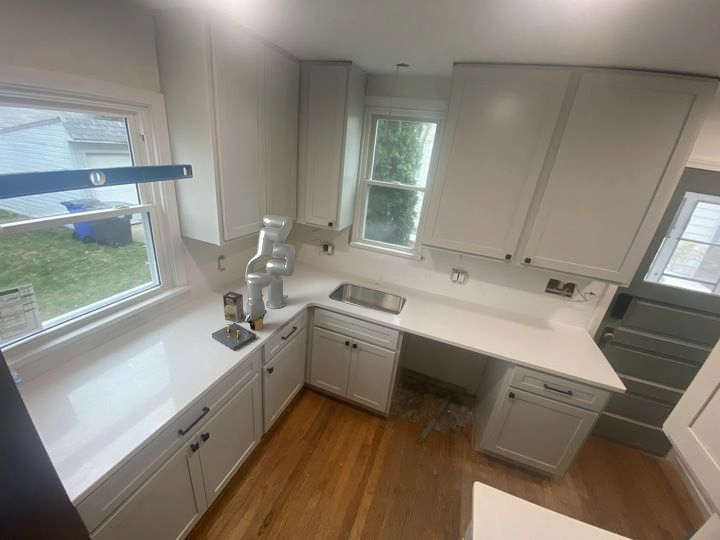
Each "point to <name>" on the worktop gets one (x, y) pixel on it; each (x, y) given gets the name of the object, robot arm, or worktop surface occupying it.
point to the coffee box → (233, 306)
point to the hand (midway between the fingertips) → (256, 326)
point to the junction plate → (234, 336)
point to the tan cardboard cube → (258, 323)
